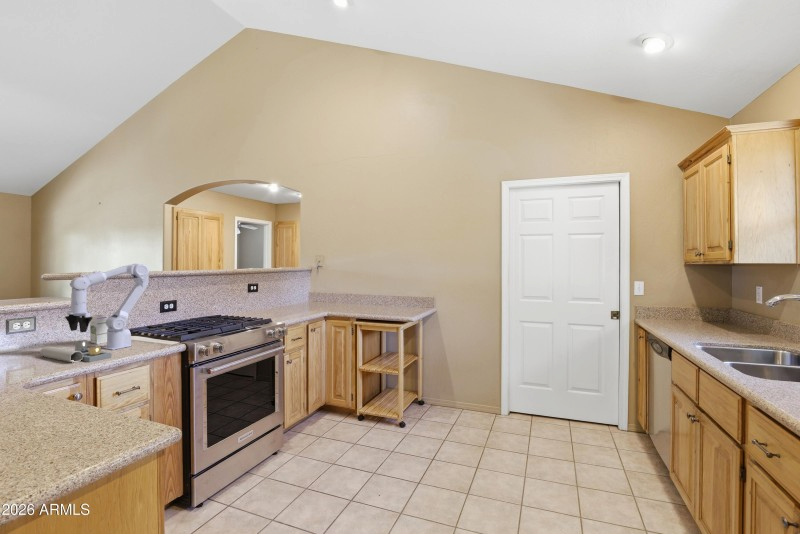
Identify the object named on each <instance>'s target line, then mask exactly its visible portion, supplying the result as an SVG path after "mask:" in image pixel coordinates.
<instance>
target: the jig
mask: <svg viewBox="0 0 800 534" xmlns="http://www.w3.org/2000/svg"><path fill="white" fill-rule="evenodd" d="M112 355H113V354H112V352H107V351H102V350H101V355H96V356H88V348H87V352H85V353H83V359H82V362H87V363H93V362H97V361H102V360H106V358H107V359H111V357H112Z"/></svg>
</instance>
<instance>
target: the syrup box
mask: <svg viewBox="0 0 800 534" xmlns="http://www.w3.org/2000/svg"><path fill="white" fill-rule="evenodd" d="M90 317H92V320H91V321H90V323H89V326H90V327H89V328H90V332H89V333H90V336H89V338H90V343H91V344H93V345H94V344H95V345H99V344H100V343H101V344H107V329H108V328H109V327H107V325H106V320H107V319H108V318H109V317H108V315H104V314H95V315H90Z"/></svg>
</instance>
